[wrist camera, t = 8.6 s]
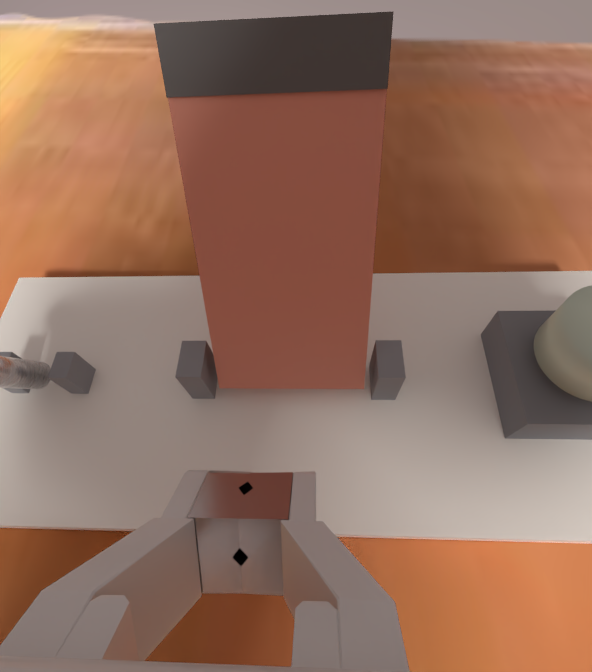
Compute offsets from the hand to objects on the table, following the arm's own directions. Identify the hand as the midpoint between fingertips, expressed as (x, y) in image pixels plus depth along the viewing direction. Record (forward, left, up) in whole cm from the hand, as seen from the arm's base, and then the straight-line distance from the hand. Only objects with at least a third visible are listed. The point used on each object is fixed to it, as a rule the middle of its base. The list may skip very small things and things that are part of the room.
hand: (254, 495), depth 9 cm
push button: (-1, -13, -4) cm, 13 cm away
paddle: (+5, -3, -6) cm, 8 cm away
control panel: (+5, -3, -8) cm, 10 cm away
